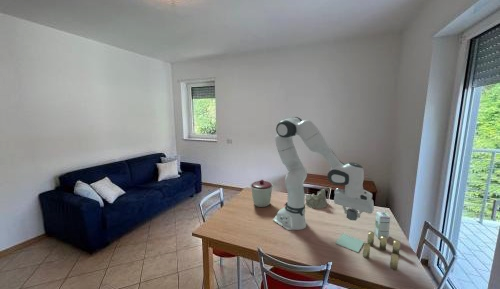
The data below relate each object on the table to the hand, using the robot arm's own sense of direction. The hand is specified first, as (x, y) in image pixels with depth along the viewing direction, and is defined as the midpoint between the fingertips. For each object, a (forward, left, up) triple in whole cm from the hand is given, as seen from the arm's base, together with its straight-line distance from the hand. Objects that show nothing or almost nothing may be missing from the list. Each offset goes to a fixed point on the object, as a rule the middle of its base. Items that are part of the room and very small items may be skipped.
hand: (352, 215), depth 118 cm
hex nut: (0, 0, -2) cm, 2 cm away
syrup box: (+12, +19, -18) cm, 29 cm away
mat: (0, 0, -17) cm, 17 cm away
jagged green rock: (-37, +34, -18) cm, 53 cm away
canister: (-70, +5, -18) cm, 72 cm away
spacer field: (+15, 0, -17) cm, 23 cm away
